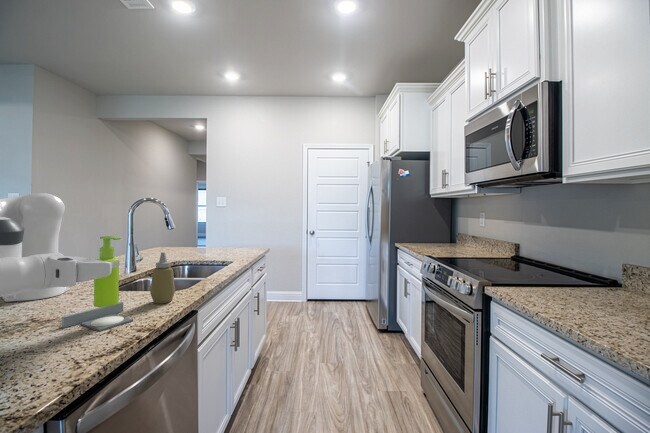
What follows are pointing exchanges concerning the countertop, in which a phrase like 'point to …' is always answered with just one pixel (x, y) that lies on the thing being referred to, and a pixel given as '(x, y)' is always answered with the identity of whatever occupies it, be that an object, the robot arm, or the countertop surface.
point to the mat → (106, 322)
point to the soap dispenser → (107, 278)
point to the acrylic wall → (91, 314)
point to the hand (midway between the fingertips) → (110, 262)
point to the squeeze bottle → (162, 281)
